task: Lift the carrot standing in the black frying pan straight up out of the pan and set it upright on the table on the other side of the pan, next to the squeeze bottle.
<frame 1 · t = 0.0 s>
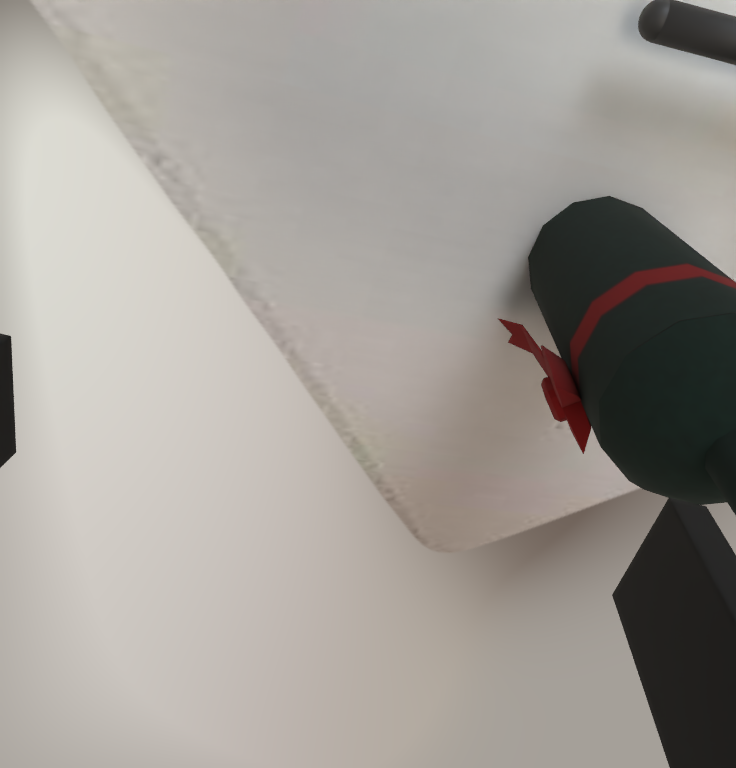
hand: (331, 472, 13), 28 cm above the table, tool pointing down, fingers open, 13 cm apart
wine bottle: (574, 269, 39), on the table
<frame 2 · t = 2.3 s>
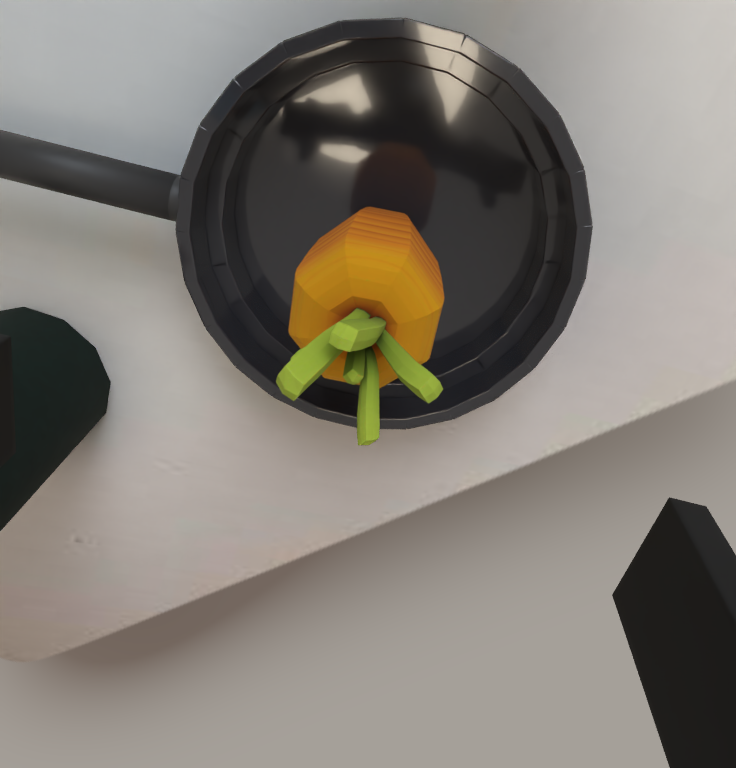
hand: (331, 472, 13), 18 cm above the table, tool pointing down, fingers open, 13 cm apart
wine bottle: (24, 381, 35), on the table
pan handle: (48, 166, 25), point 3 cm above the table
pan: (384, 228, 29), on the table
carrot: (384, 228, 29), resting in pan
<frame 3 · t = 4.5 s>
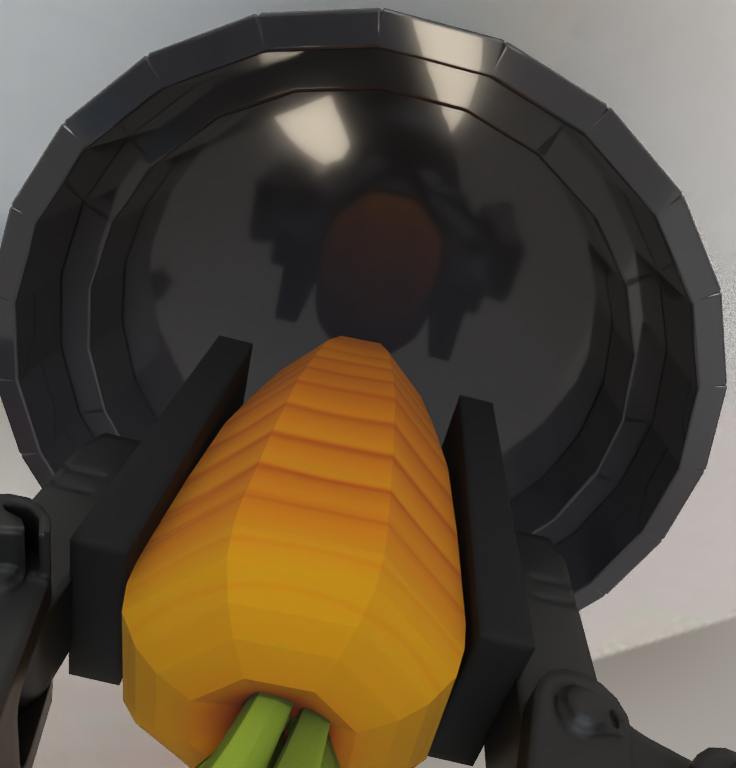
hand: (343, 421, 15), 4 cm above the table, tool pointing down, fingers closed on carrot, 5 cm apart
pan: (361, 347, 18), on the table
carrot: (360, 348, 18), resting in pan, touching gripper
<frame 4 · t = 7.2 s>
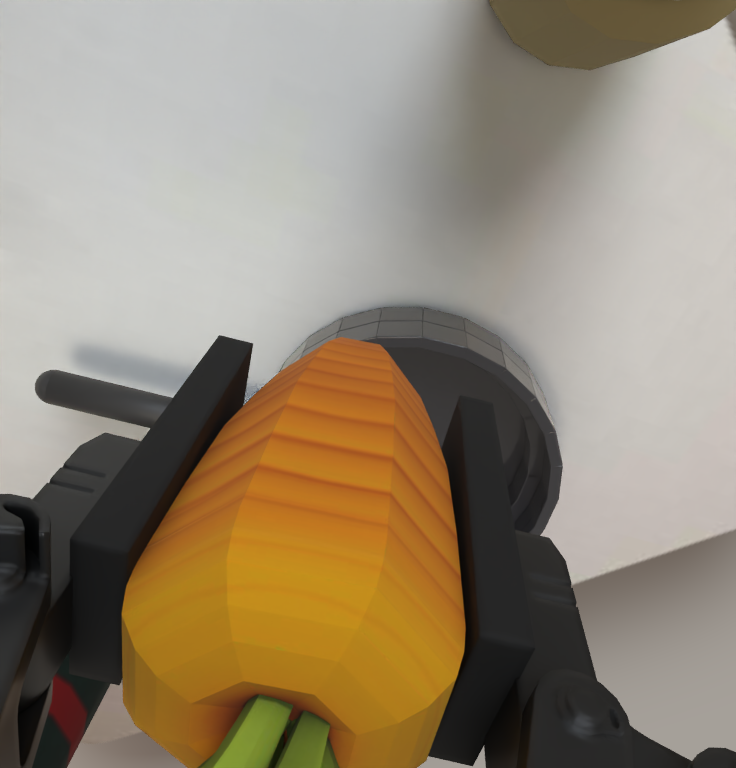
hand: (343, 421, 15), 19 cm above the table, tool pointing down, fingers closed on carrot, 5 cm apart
wine bottle: (110, 534, 43), on the table
pan handle: (151, 410, 33), point 3 cm above the table
pan: (404, 436, 37), on the table
carrot: (360, 349, 18), point 15 cm above the table, touching gripper
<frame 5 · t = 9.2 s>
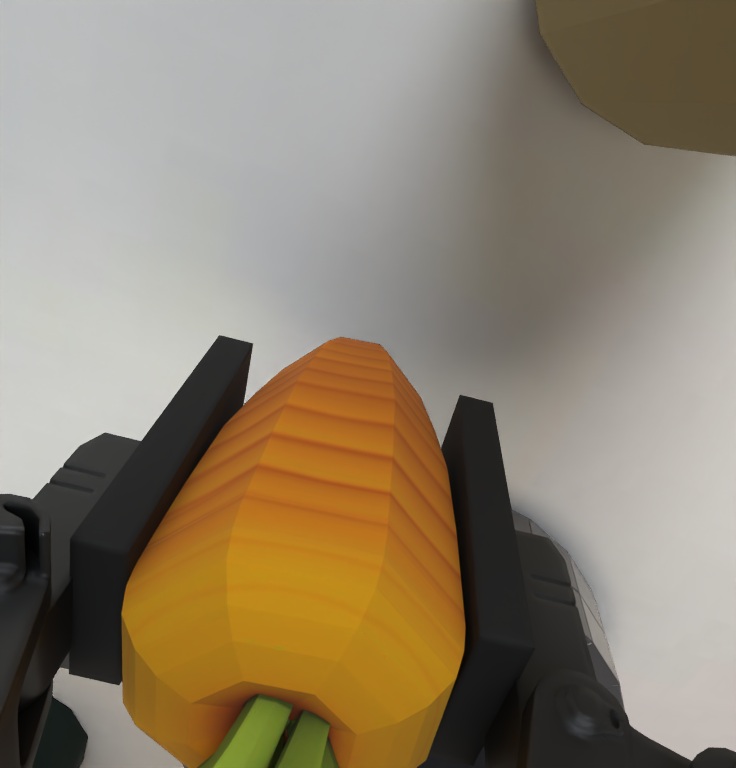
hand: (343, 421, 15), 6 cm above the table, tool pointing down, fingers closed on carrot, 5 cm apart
pan: (389, 634, 26), on the table
carrot: (360, 349, 18), point 2 cm above the table, touching gripper
when the fingers open (4 cm above the table, at t = 10.1 s): carrot stays where it is, on the table.
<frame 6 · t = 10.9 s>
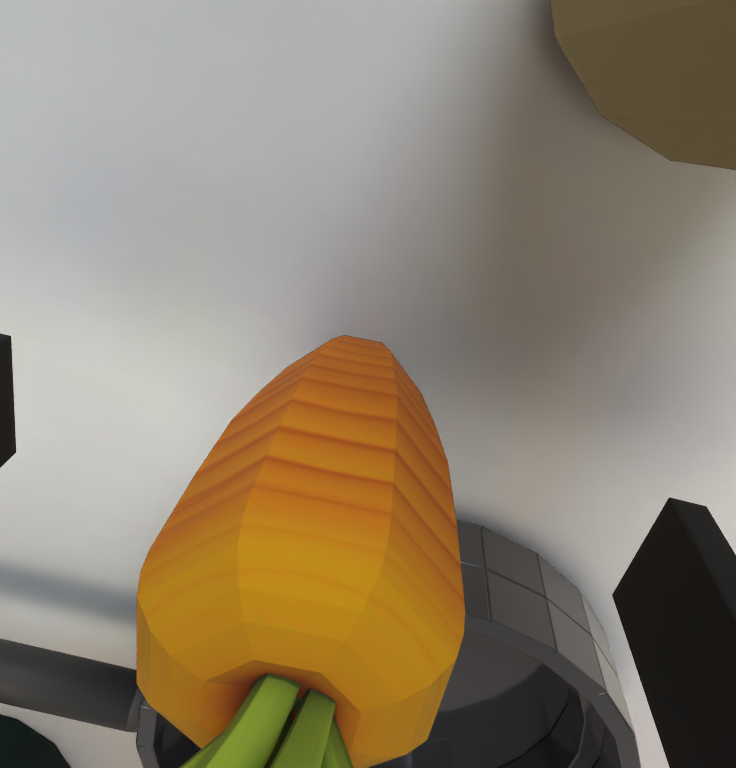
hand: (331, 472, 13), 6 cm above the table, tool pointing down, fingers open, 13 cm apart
pan: (388, 670, 24), on the table
carrot: (362, 347, 18), on the table
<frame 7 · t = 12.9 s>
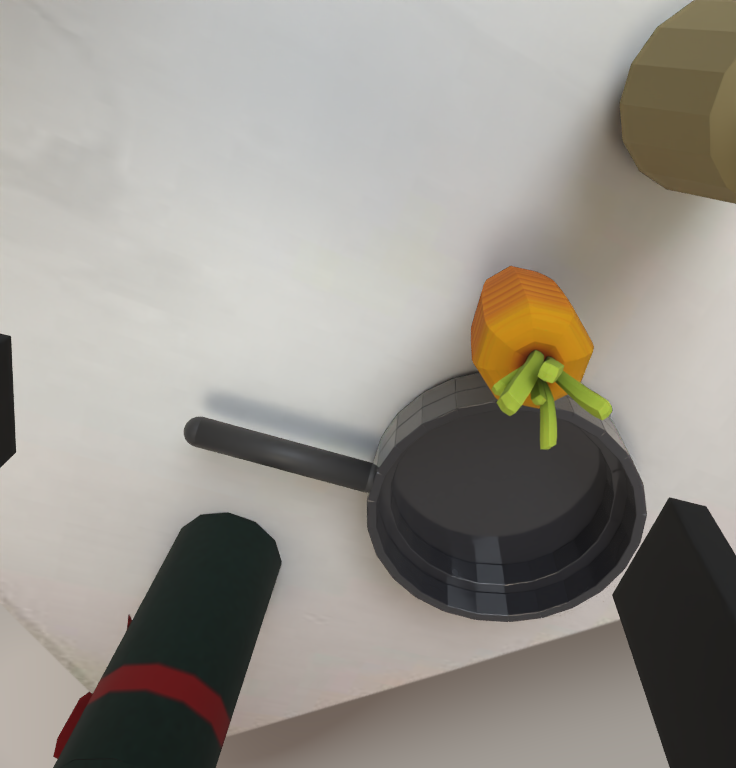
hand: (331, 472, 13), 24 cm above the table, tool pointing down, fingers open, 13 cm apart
wine bottle: (216, 557, 47), on the table
pan handle: (283, 454, 38), point 3 cm above the table
squeeze bottle: (685, 94, 31), on the table
pan: (496, 480, 42), on the table
carrot: (507, 279, 36), on the table
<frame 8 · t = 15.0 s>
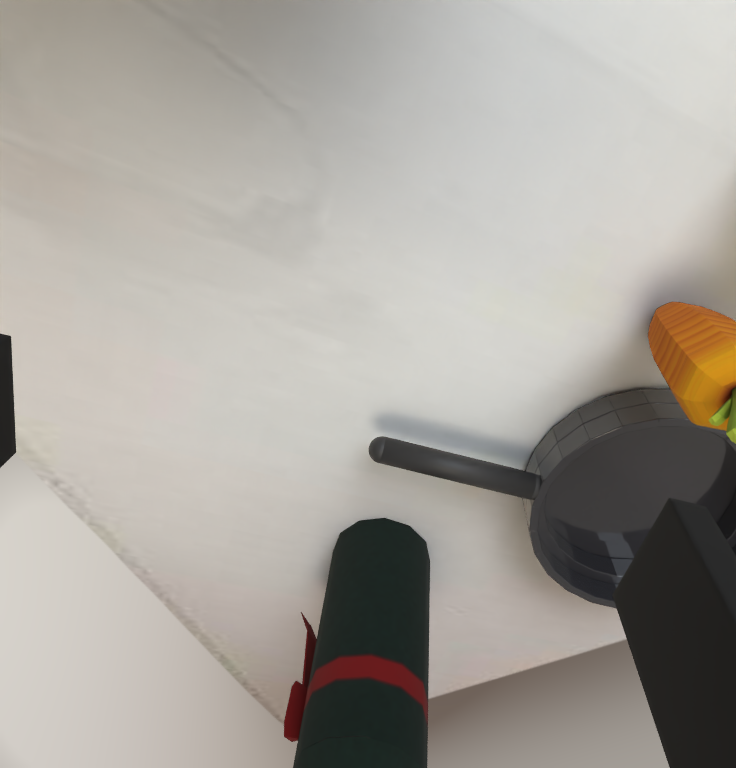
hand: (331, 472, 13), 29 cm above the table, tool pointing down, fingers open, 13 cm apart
wine bottle: (368, 558, 52), on the table
pan handle: (457, 468, 43), point 3 cm above the table
pan: (635, 484, 46), on the table
carrot: (661, 309, 40), on the table
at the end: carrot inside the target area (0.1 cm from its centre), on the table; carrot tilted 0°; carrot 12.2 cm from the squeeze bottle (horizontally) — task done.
